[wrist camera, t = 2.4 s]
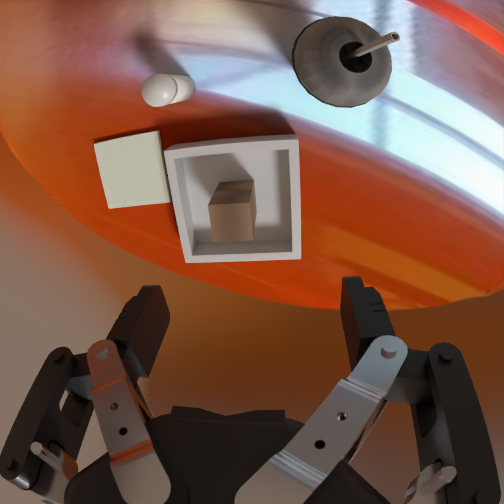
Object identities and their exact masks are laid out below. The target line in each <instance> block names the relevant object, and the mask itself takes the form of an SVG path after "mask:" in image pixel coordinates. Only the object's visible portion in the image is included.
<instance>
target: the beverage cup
mask: <svg viewBox="0 0 504 504" xmlns="http://www.w3.org/2000/svg"><path fill="white" fill-rule="evenodd" d="M399 38H400V36H399V34H398V33H396V32H391V33H389V34H387V35H385V36H383V37H381V36H380V35H379V34H378V32H376V31H375V30H374V29H373V28H371V27H370V26H368V25H367V24H366V23H364V22H361V21H359V20H356V19H353V18H350V17H338V16H334V17H328V18H323V19H319V20H316V21H314V22H313V23H311V24H310V25H308V26H307V27H305V28H304V29H303V30H302V32H301V33H300V34H299V36H298V37H297V38H296V40H295V44H294V48H293V51H292V61H293V69H294V71H295V73H296V76H297V78H298V81H299V82H300V84H301V85H302V86H303V87H304V88H305V89H306V91H307V92H308V93H309V94H310V95H312V96H313V97H315V98H316V99H318V100H319V101H321V102H322V103H326V104H329V105H332V106H335V107H348V108H352V107H355V106H359V105H363V104H366V103H367V102H369V101H370V100H372V99H373V98H375V97H376V96H378V95H379V94H380V93H381V92H382V91H383V89H384V88H385V87H386V85H387V84H388V82H389V78H390V75H391V71H392V64H391V55H390V52H389V50H388V47H387V45H388V44H390V43H393V42H396V41H398V40H399Z"/></svg>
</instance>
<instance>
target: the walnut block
mask: <svg viewBox="0 0 504 504" xmlns="http://www.w3.org/2000/svg"><path fill="white" fill-rule="evenodd" d="M208 211H209V217H210V223H211V230H212V236H213V242H222V241H245V240H253V237H254V229H255V222H256V214H257V208H256V196H255V185H254V180H245V181H230V182H219V184H218V186H217V188H216V190H215V192H214V194H213V196H212V198H211V200H210V202H209V204H208Z"/></svg>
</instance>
